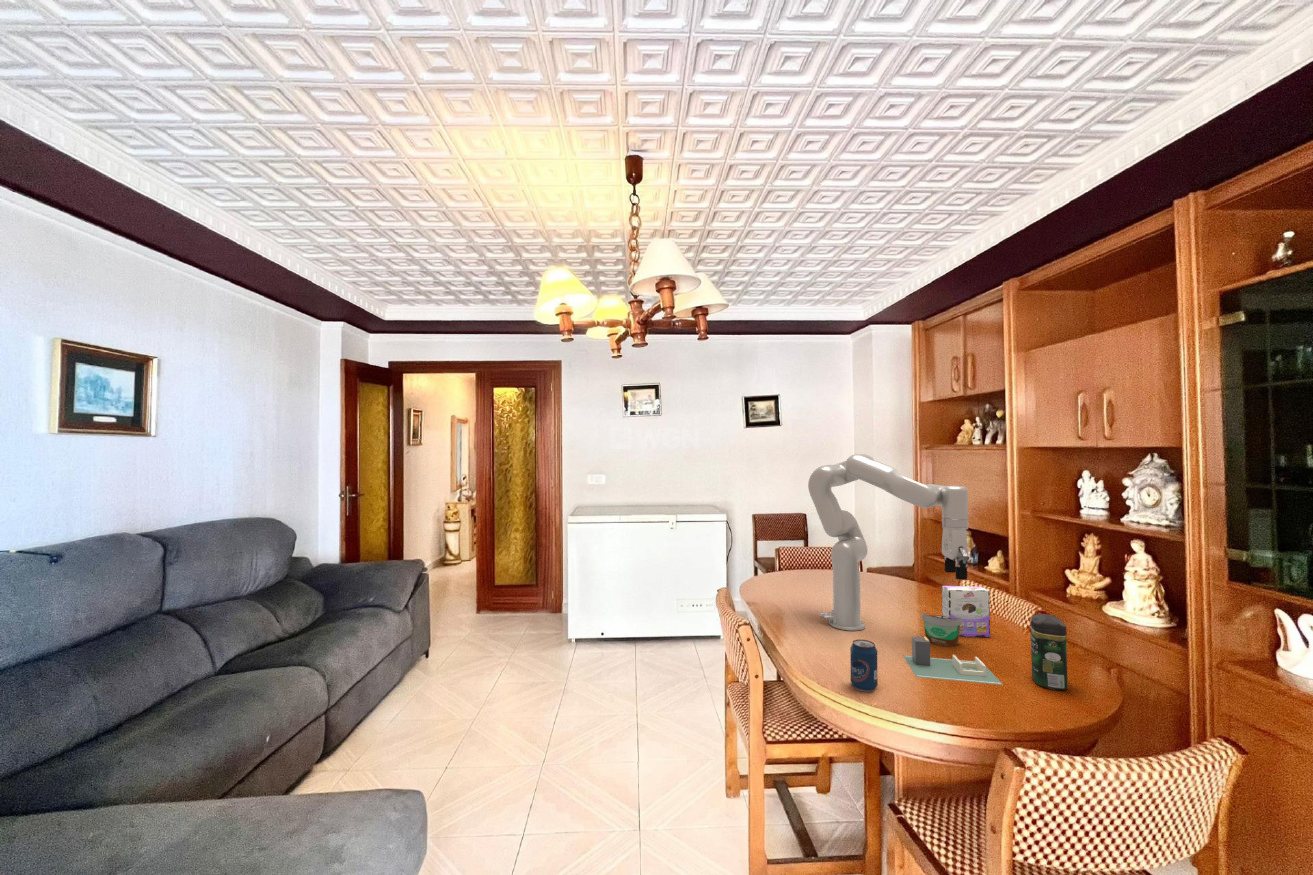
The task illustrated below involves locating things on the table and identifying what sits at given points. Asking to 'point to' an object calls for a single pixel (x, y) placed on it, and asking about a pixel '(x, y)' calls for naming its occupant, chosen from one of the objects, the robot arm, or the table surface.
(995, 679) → the board
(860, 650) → the soda can
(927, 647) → the plug
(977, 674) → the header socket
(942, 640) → the food container
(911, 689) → the table surface
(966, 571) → the robot arm
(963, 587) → the candy box
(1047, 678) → the coffee jar
